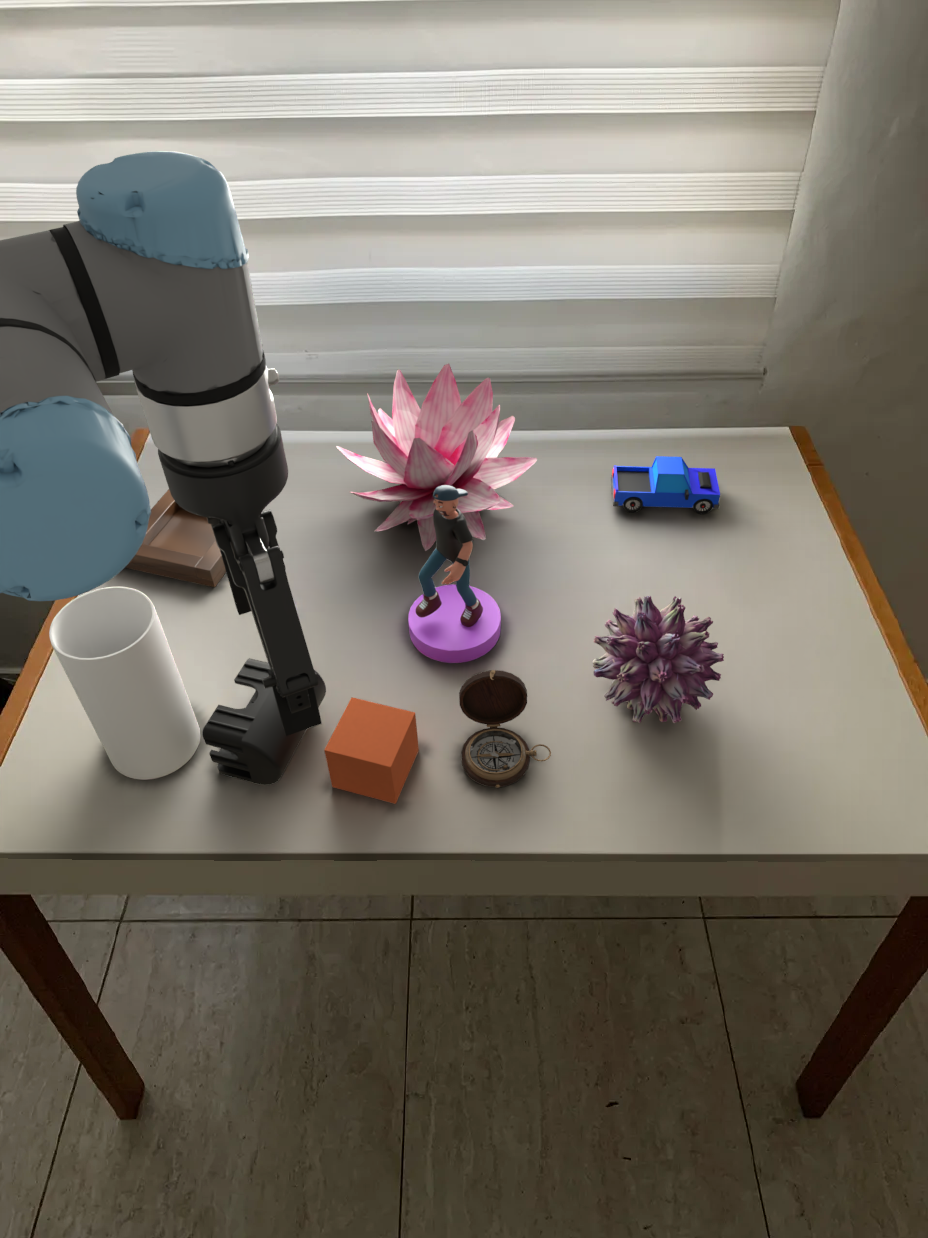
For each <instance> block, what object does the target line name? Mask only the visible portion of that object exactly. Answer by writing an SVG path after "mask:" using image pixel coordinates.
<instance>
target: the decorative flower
mask: <svg viewBox="0 0 928 1238" xmlns="http://www.w3.org/2000/svg"><path fill="white" fill-rule="evenodd" d="M366 393H367V401H368V407H369V414H370V416H371V418H372V420H371V432H372V438H373V439H372V441H373V444H374V447H375V448H376V449H377V451H378V453H379V454H380V456H381V457H382V460H378V459H375V458H372V457H369V456H364V455H361V454H358V453H355V452H353V451H351V450H349V449H346V448H343V447H342V446H339V445H336V446H335V447H336V448H337V449H338V450H339V452H340V453H341V454H342V455H343V456H344V457H345V458H346V459H347V460H348V461H350V462H351V463H352V464H354V465H355V466H357V467H358V468H360V469H361V470H363V471H364V472H366V473H367V474H370V475H372V476H374V477H376V478H379V479H381V480H383V481H385V482H387V483H389V484H390V483H391V484H397V485H393V486H389V487H385V488H381V489H377V490H371V491H364V492H356V491H350V494H353V495H355V496H357V497H359V498H361V499H363V500H368V501H373V502H377V503H389V502H392V503H393V502H399V504H398V505H397V506H396V507H395V508H394V510H393V511H392V512H391V513H390V514H389V515H388V516H387V518H385V520H384V521H383V522H382V523H380V525H378V527H377V528H376V529H375V530H374V532H383V531H388V530H389V529H392V528H394V527H397V526H399V525H401V524H404V523H406V522H407V525H406V526H408V525H410V524H412V523H414V522H415V521H417V527H418V532H419V536H420V541H421V545H422V547H423V549H424V551H425V552H426V551H428V550H430V548H432V547H433V546H434V544H435V543H436V533H435V528H434V522H433V513H434V510H435V508H436V505H434V503H433V502H434V497H433V493H434V491H435V489H436V488H437V487H438V486H441V485H450V486H453V487H454V488H456V489H463V490H465V491H467V492H468V495H467V496H462V497H459V498H458V505H457V509H458V510H460V511H461V513H462V514H463V515H464V517H465V519H466V521H467V526H468V528H469V531H470V533H471V534H472V537H473V538H476V539H479V540H483V541H485V540H486V539H487V537H486V531H485V527H484V526H485V525H484V523H483V519H482V517H481V513H480V512H481V511H485V510H490V511H497V510H504V509H509V508H513V507H514V504H513V503H511V502H510V501H508V500H507V499H505V498H503V497H502V496H500V495H499V494H498V493H497V491H495V490H497V489H500V488H501V487H504V486H505V485H507V484H509V483H510V484H511V483H512V482H514V481H516V480H517V479H519V477H521V476H522V475H523V474H524V473H525V472H527V470H529V469H530V468H531V467H533V465H534V464H535V463H537V461H538V457H533V456H532V457H530V456H501V457H498V456H499V455H500V453H501V452H502V450H503V449H504V448H505V446H506V445H507V443H508V440H509V437H510V434H511V432H512V430H513V427H514V425H515V421H516V418H515V416H514V415H511V416H509V417H506V418H504V419H501V420H500V417H501V404H500V403H499V404H498V405H497V406H496V407H495V408H494V409H493V400H494V399H493V398H494V392H493V387H492V382H491V377H486V378H484V379H483V380H482V381H481V382H480V383H479V384H478V385H477V386H476V387H475V388H474V389H473V390H472V391H471V392H470V393H469V394H468V396H466V398H465V399H464V400H463V401H462V400H461V395H460V392H459V388H458V384H457V381H456V378H455V375H454V372H453V369H452V367H451V365H450V363H446V364H444V365H443V366H442V367H441V370H440V371H439V373H438V374H437V376H436V377H435V379H434V380H433V382H432V383H431V386H430V388H429V389H428V392H427V394H426V396H425V397H424V400H423V402H422V404H421V408H420V406H419V404H418V402H417V400H416V398H415V396H414V395H413V392H412V390H411V389H410V386H409V384H408V382H407V380H406V378H405V376H404V374H403V372H402V370H401V369H397V371H396V374H395V378H394V382H393V390H392V408H391V409H392V411H391V416H389V414H387V413H386V412H385V411H384V410H383V409H382V408H381V407H380V408H378V409H376V408H375V406H374V405H373V403H372V400H371V397H370V395H369V393H368V392H366Z"/></svg>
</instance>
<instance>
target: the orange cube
mask: <svg viewBox="0 0 928 1238" xmlns="http://www.w3.org/2000/svg"><path fill="white" fill-rule="evenodd" d="M417 727H418V726H417V716H416V712H415V711H411V710H406V709H402V708H399V707H395V706H390V705H386V704H381V703H378V702H373V701H370V700H365V699H361V698H357V697H350V699H349V701H348V703H347V705H346V707H345V709H344V711H343V713H342V715H341V717H340V719H339V720H338V723H337V724H336V727H335V728H334V730H333V732H332V734H331V736H330V738H329V740H328V742H327V744H326V746H325V747H324V750H323V751H324V756H325V761H326V765H327V769H328V774H329V778H330V779H329V780H330V783H331V787H332V788H334V789H338V790H342V791H345V792H349V793H353V794H356V795H361V796H363V797H367V798H372V799H376V800H378V801H383V802H386V803H391V804H394V805H396V804H397V802H398V799H399V797H400V796H401V792H402V790H403V788H404V786H405V783H406V781H407V778H408V776H409V775H410V771H411V769H412V767H413V765H414V763H415V761H416V758H417V756H418V753H419V751H420V748H419V737H418V728H417Z"/></svg>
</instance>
